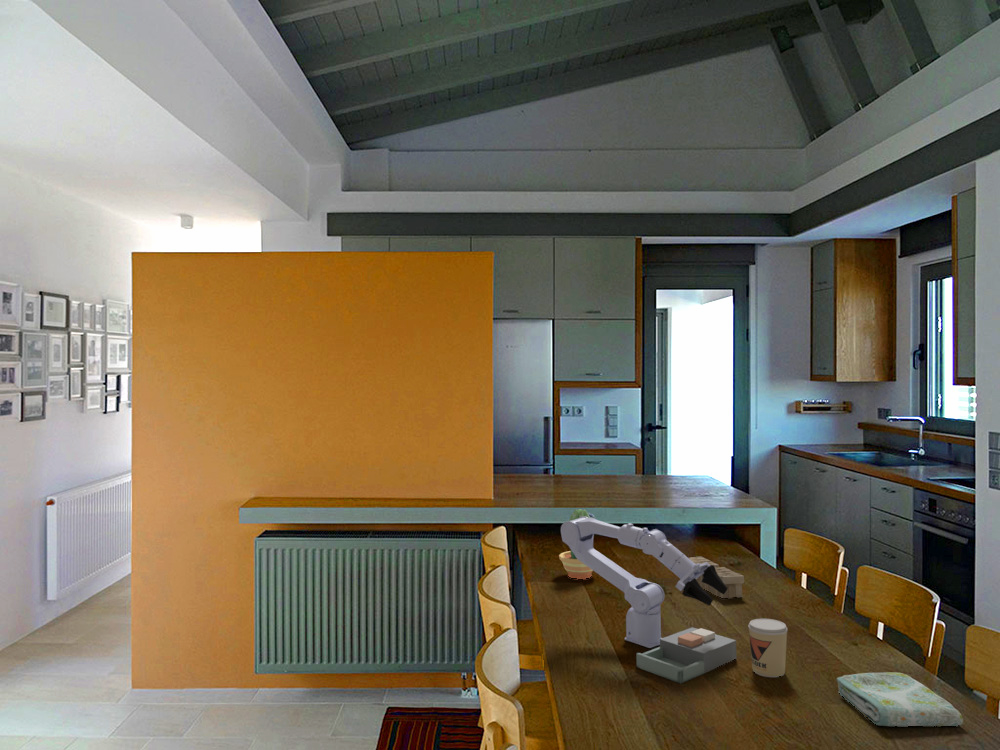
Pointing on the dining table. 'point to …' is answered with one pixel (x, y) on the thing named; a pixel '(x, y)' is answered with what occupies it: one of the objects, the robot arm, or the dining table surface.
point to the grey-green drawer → (668, 666)
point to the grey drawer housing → (699, 650)
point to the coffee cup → (768, 647)
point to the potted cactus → (568, 558)
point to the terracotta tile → (690, 639)
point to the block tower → (727, 577)
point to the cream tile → (704, 634)
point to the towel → (897, 700)
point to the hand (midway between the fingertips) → (718, 597)
